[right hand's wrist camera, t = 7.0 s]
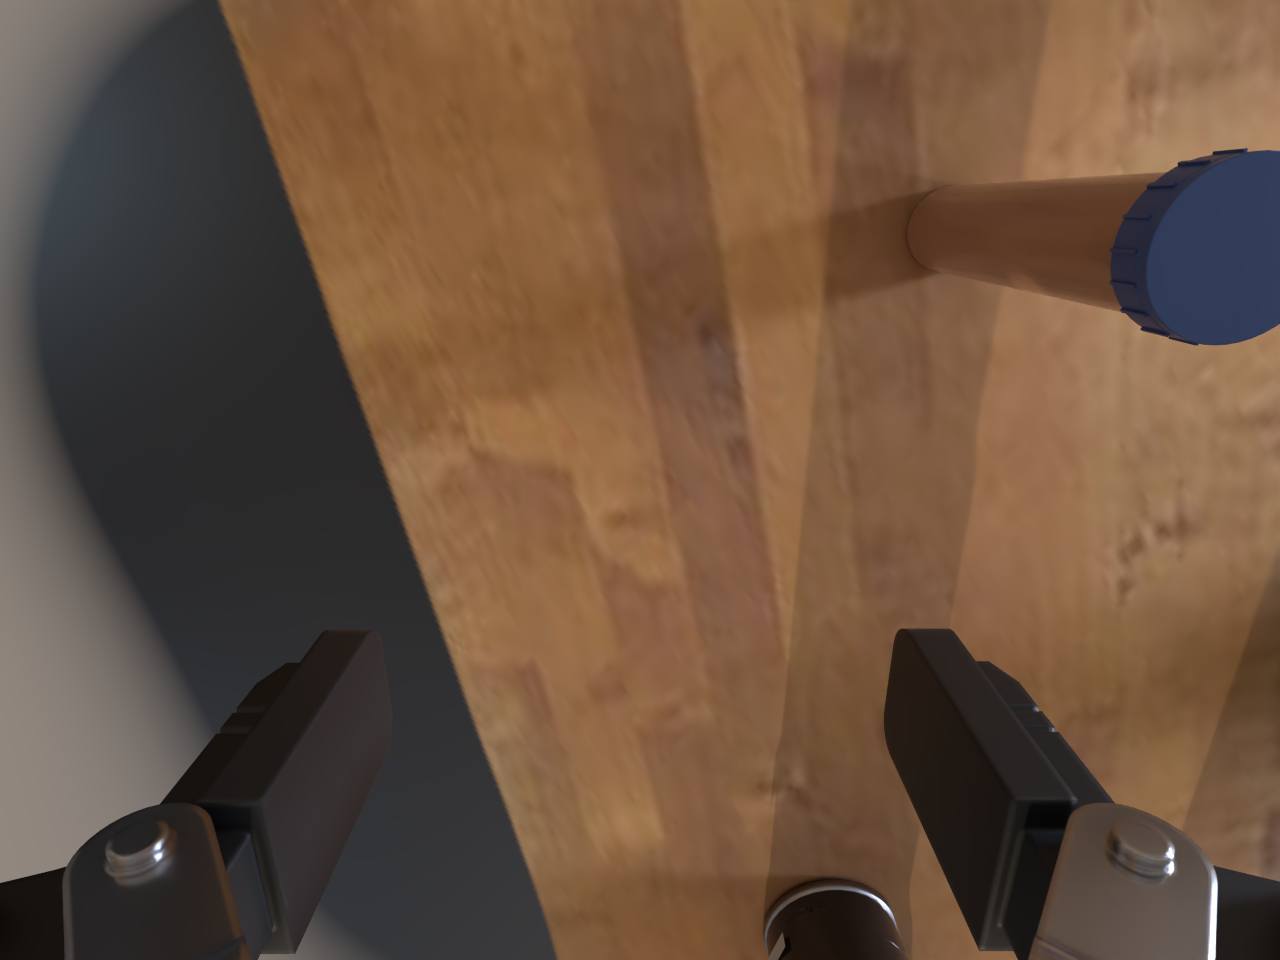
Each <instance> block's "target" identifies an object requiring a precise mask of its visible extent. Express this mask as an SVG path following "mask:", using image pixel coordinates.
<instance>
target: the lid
mask: <svg viewBox="0 0 1280 960" xmlns="http://www.w3.org/2000/svg"><path fill="white" fill-rule="evenodd" d="M1247 150H1248V148H1246V149H1235V150H1225V151H1215V152H1213V155H1210V156H1205V157H1200V158H1197V159H1194V160H1190V161H1181V162H1179V163H1178V166H1177V167H1175V168H1173V169H1172V170H1170V171H1168V172H1167V173H1165V174H1164V175H1162V176H1161V177H1160V178H1159V179H1157V180H1156V181H1155V182H1153V183H1149V184H1148V185H1146V187H1147V189H1146V190H1145V191H1144V192H1143V193H1142V194H1141V195H1140V196H1139V198H1138V199H1137V200H1136V201H1135V202H1134V204H1133V205H1132V206H1131V208H1130V209H1129V211H1128V212H1127V214H1124V215H1123V217H1122V218H1124V219H1123V221H1122V223H1121V225H1120V227H1119V230H1118V232H1117V235H1116V238H1115V241H1114V245H1113V248H1110V252H1112V255H1111V267H1110V272H1111V281H1109V284H1110V285H1112V286H1113V290H1114V293H1115V295H1116V298H1117V300H1118V302H1119V304H1120V306H1121V307H1122V308H1121V309H1120V311H1121V312H1122V313H1126V314H1127V315H1128V316H1129V317H1130V318H1131V319H1132V320H1133V321H1134V322H1136V323H1137V324H1138V325H1140V326H1141V327H1142V328H1141V329H1140V330H1142V331H1145V332H1149V333H1153V334H1157V335H1161V336H1165V337H1168V336H1169V339H1172V340H1176V341H1180V342H1184V343H1188V344H1192V345H1198V344H1204V345H1227V344H1232V343H1238V342H1241V341H1245V340H1248V339H1251V338H1254V337H1256V336H1258V335H1261V334H1263V333H1265V332H1267V331H1268V330H1270V329H1272V328H1274V327H1276V326H1277V325H1278V324H1280V151H1270V150H1266V151H1252V152H1247Z"/></svg>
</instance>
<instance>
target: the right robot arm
mask: <svg viewBox="0 0 1280 960" xmlns="http://www.w3.org/2000/svg"><path fill="white" fill-rule="evenodd" d="M884 730H885V737H886V743H887V747H888V750H889V753H890V755H891V758H892V760H893V762H894V764H895V767H896V769H897V771H898V773H899V775H900V777H901V780H902V782H903V784H904V786H905V788H906V791H907V793H908V795H909V797H910V799H911V802H912V804H913V806H914V808H915V810H916V813H917V815H918V817H919V819H920V821H921V824H922V826H923V828H924V830H925V832H926V835H927V837H928V839H929V841H930V843H931V846H932V848H933V850H934V852H935V854H936V857H937V859H938V861H939V863H940V865H941V868H942V870H943V872H944V874H945V876H946V879H947V881H948V883H949V885H950V887H951V889H952V892H953V894H954V896H955V898H956V900H957V903H958V905H959V907H960V909H961V911H962V914H963V916H964V918H965V920H966V922H967V925H968V927H969V929H970V931H971V933H972V936H973V938H974V940H975V942H976V944H977V947H978V949H979V951H1014V952H1015V954H1016V956H1017V958H1018V960H1280V882H1278V881H1274V880H1270V879H1266V878H1262V877H1257V876H1253V875H1249V874H1245V873H1241V872H1237V871H1233V870H1228V869H1224V868H1220V867H1216V866H1213V865H1212V863H1211V862H1210V860H1209V859H1208V857H1207V856H1206V855H1205V853H1204V852H1203V851H1202V850H1201V848H1200V847H1199V846H1197V845H1196V844H1195V843H1194V842H1193V841H1192V840H1191V839H1190V838H1189V837H1187V836H1186V835H1185V834H1184V833H1182V832H1181V831H1180V830H1178V829H1177V828H1175V827H1174V826H1172V825H1171V824H1169V823H1167V822H1165V821H1163V820H1162V819H1160V818H1158V817H1156V816H1153V815H1151V814H1149V813H1147V812H1144V811H1141V810H1138V809H1136V808H1132V807H1128V806H1124V805H1120V804H1115V803H1114V801H1113V800H1112V799H1111V798H1110V796H1109V795H1108V794H1107V793H1106V791H1105V790H1104V789H1103V787H1102V786H1101V785H1100V784H1099V782H1098V781H1097V780H1096V779H1095V777H1094V776H1093V775H1092V774H1091V772H1090V771H1089V770H1088V769H1087V767H1086V766H1085V765H1084V764H1083V762H1082V761H1081V760H1080V759H1079V757H1078V756H1077V755H1076V753H1075V752H1074V751H1073V750H1072V748H1071V747H1070V746H1069V745H1068V743H1067V742H1066V741H1065V740H1064V738H1063V737H1062V736H1061V735H1060V733H1059V732H1055V731H1054V726H1053V725H1052V723H1051V722H1050V721H1049V720H1048V718H1047V717H1046V716H1045V714H1044V713H1043V712H1042V711H1038V706H1037V704H1036V703H1035V702H1034V701H1033V699H1032V698H1031V697H1030V696H1029V694H1028V693H1027V692H1026V691H1025V689H1024V688H1023V687H1022V686H1021V684H1020V683H1019V682H1018V681H1016V680H1015V679H1014V678H1012V677H1011V676H1009V675H1008V674H1006V673H1005V672H1003V671H1002V670H1000V669H999V668H997V667H996V666H995V665H993V664H992V663H990V662H989V661H975V660H974V658H973V657H972V655H971V654H970V653H969V651H968V650H967V649H966V647H965V646H964V645H963V643H962V642H961V641H960V639H959V638H958V636H957V635H956V634H955V633H954V632H953V631H952V630H951V629H900V630H899V631H898V632H897V634H896V636H895V639H894V645H893V652H892V659H891V666H890V674H889V681H888V688H887V695H886V702H885V710H884ZM391 734H392V709H391V702H390V695H389V688H388V681H387V674H386V667H385V659H384V652H383V646H382V640H381V637H380V635H379V633H378V632H377V631H376V630H326V631H324V632H323V633H322V634H321V635H320V636H319V637H318V639H317V640H316V641H315V643H314V644H313V645H312V647H311V648H310V650H309V651H308V652H307V654H306V655H305V656H304V658H303V659H302V660H301V662H300V663H286V664H285V665H283V666H282V667H280V668H279V669H277V670H276V671H274V672H273V673H272V674H270V675H268V676H267V677H266V678H264V679H263V680H261V681H260V682H258V683H257V684H256V685H255V686H254V688H253V689H252V690H251V691H250V692H249V694H248V695H247V696H246V697H245V699H244V700H243V701H242V702H241V704H240V705H239V706H238V707H237V712H236V713H233V714H232V715H231V716H230V717H229V719H228V720H227V721H226V722H225V724H224V725H223V726H222V727H221V732H220V734H216V735H215V736H214V737H213V739H212V740H211V741H210V742H209V744H208V745H207V746H206V747H205V749H204V750H203V751H202V752H201V754H200V755H199V756H198V757H197V759H196V760H195V761H194V762H193V764H192V765H191V766H190V767H189V769H188V770H187V771H186V772H185V774H184V775H183V776H182V777H181V779H180V780H179V781H178V782H177V784H176V785H175V786H174V787H173V788H172V790H171V791H170V792H169V794H168V795H167V796H166V797H165V798H164V800H163V801H162V802H161V803H160V805H156V806H152V807H148V808H145V809H142V810H139V811H136V812H133V813H131V814H129V815H127V816H124V817H122V818H120V819H118V820H117V821H115V822H113V823H111V824H109V825H108V826H106V827H105V828H103V829H102V830H100V831H99V832H98V833H96V834H95V835H94V836H93V837H91V838H90V839H89V840H88V841H87V842H86V843H85V844H84V845H83V846H81V847H80V848H79V850H78V851H77V852H76V853H75V855H74V856H73V857H72V859H71V860H70V862H69V863H68V865H67V867H63V868H60V869H57V870H53V871H48V872H45V873H41V874H36V875H32V876H28V877H24V878H19V879H15V880H11V881H7V882H3V883H0V960H257V959H258V958H259V956H260V954H295V953H296V951H297V948H298V946H299V944H300V942H301V940H302V938H303V935H304V933H305V931H306V929H307V927H308V925H309V922H310V920H311V918H312V916H313V914H314V912H315V909H316V907H317V905H318V903H319V901H320V898H321V896H322V894H323V892H324V890H325V888H326V886H327V883H328V881H329V879H330V877H331V875H332V873H333V870H334V868H335V866H336V864H337V862H338V859H339V857H340V855H341V853H342V851H343V849H344V846H345V844H346V842H347V840H348V838H349V836H350V833H351V831H352V829H353V827H354V825H355V823H356V820H357V818H358V816H359V814H360V812H361V810H362V807H363V805H364V803H365V801H366V799H367V797H368V794H369V792H370V790H371V788H372V786H373V783H374V781H375V779H376V777H377V775H378V773H379V770H380V768H381V766H382V764H383V762H384V760H385V757H386V755H387V752H388V749H389V745H390V740H391ZM763 935H764V942H765V947H766V951H767V954H768V956H769V958H768V959H767V960H907V957H906V954H905V951H904V949H903V946H902V943H901V940H900V937H899V935H898V932H897V926H896V922H895V919H894V916H893V913H892V910H891V908H890V906H889V904H888V903H887V901H886V900H885V899H884V898H883V897H882V896H881V895H880V894H879V893H878V892H876V891H875V890H873V889H872V888H870V887H868V886H865V885H863V884H860V883H857V882H853V881H848V880H838V879H831V880H820V881H815V882H811V883H807V884H804V885H802V886H799V887H797V888H795V889H793V890H791V891H789V892H788V893H786V894H785V895H783V896H782V897H781V898H780V899H779V900H778V901H777V902H776V903H775V904H774V905H773V906H772V907H771V909H770V910H769V912H768V914H767V916H766V918H765V922H764V926H763Z"/></svg>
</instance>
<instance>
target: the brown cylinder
mask: <svg viewBox="0 0 1280 960" xmlns="http://www.w3.org/2000/svg"><path fill="white" fill-rule="evenodd" d="M1165 173H1167V172H1160V173H1144V174H1129V175H1113V176H1098V177H1082V178H1066V179H1051V180H1035V181H1019V182H1004V183H988V184H973V185H957V186H947V187H942V188H939V189H937V190H935V191H933V192H931V193H930V194H928V195H927V196H926V197H925V198H923V199H922V200H921V201H920V203H919V204H918V205H917V206H916V208H915V209H914V211H913V213H912V215H911V217H910V220H909V223H908V229H907V241H908V246H909V249H910V251H911V253H912V255H913V257H914V258H915V260H916V261H917V262H918V263H919V264H921V265H922V266H923V267H925V268H927V269H930V270H933V271H937V272H942V273H946V274H951V275H955V276H960V277H964V278H969V279H973V280H978V281H982V282H987V283H991V284H996V285H1001V286H1005V287H1010V288H1014V289H1019V290H1023V291H1028V292H1032V293H1037V294H1041V295H1046V296H1050V297H1055V298H1059V299H1064V300H1068V301H1073V302H1078V303H1082V304H1087V305H1091V306H1096V307H1100V308H1105V309H1109V310H1114V311H1118V312H1121V311H1120V309H1121V308H1122V307H1121V306H1120V304H1119V302H1118V300H1117V298H1116V295H1115V293H1114V290H1113V286H1112V285H1110V284H1109V281H1111V272H1110V267H1111V255H1112V252H1110V248H1113V245H1114V241H1115V238H1116V235H1117V232H1118V230H1119V227H1120V225H1121V223H1122V221H1123V219H1124V218H1122V217H1123V215H1124V214H1127V212H1128V211H1129V209H1130V208H1131V206H1132V205H1133V204H1134V202H1135V201H1136V200H1137V199H1138V198H1139V196H1140V195H1141V194H1142V193H1143V192H1144V191H1145V190H1146V189H1147V187H1146V185H1148V184H1149V183H1153V182H1155V181H1156V180H1157V179H1159V178H1160V177H1161V176H1162V175H1164V174H1165Z"/></svg>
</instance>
